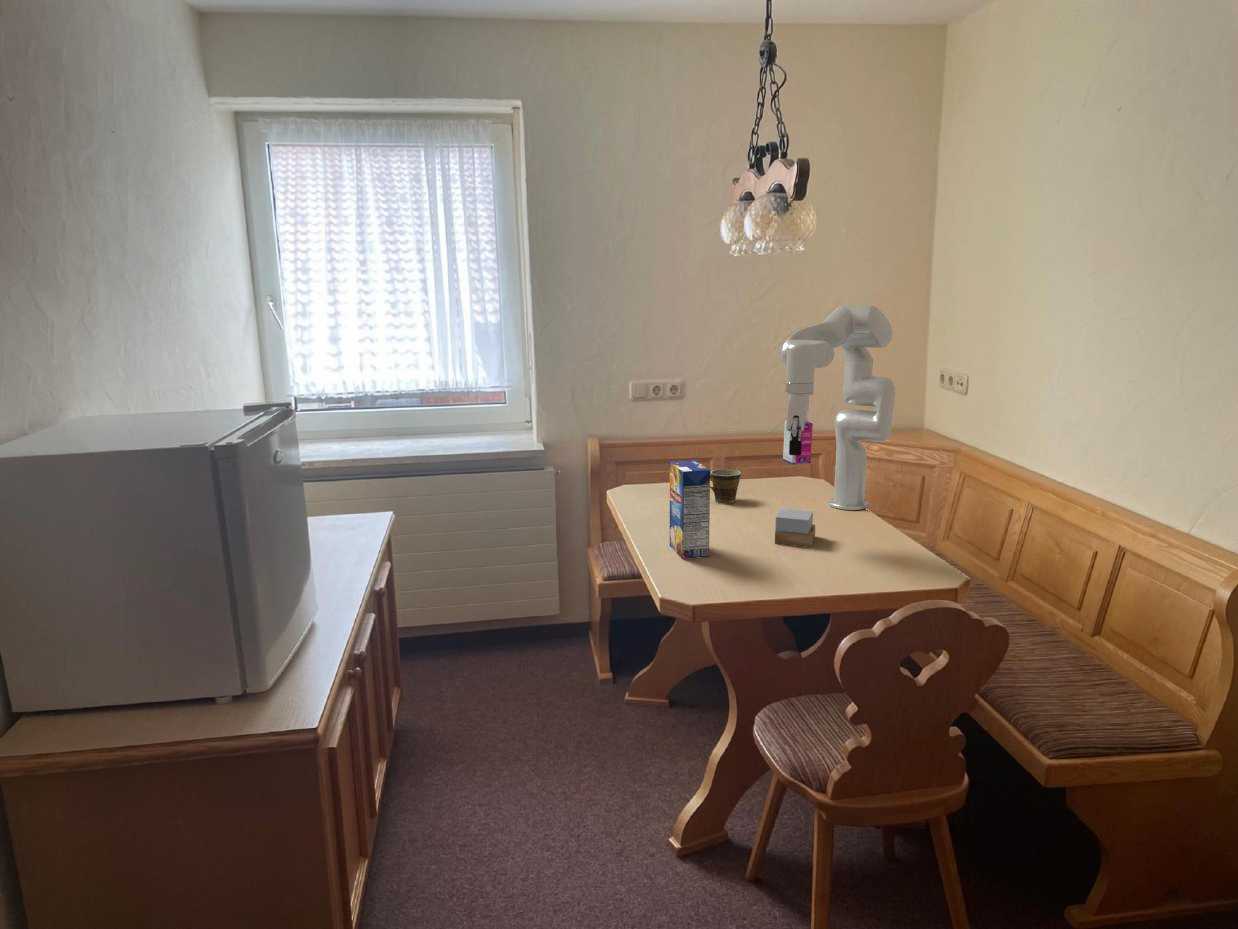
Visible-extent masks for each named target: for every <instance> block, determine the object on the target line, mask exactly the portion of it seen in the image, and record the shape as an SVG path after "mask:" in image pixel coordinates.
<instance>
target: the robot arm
mask: <svg viewBox="0 0 1238 929" xmlns="http://www.w3.org/2000/svg"><path fill="white" fill-rule="evenodd" d="M892 338H893V328H892V324H891V323H890V321H889V319H888V318H887V316H886V315H885V314H884V313H883V311H882V310H881V309H879V308H878V307H876V306H875V305H871V304H867V305H866V304H844V305H841V306H838V307H837V308H834V310H833V311H832V312H831V313H830V314H828V316H827V317H826V318H825V319H824V320H823V321H822V322H819V323H816V324H815V323H814V324H813V325H810V326H807V327H804V328H802V329H798V330H797V331H795V332H793V333H792V334H791V335H790V336H789V337H788V338H787V339H786V340H785V341H784V343H783V345H782V347H781V350H780V357H781V361H782V362H783V364H784V365H785V369H786V370H785V395H786V396H787V395H788V396H787V397H788V398H787V405H786V406H787V407H786V408H787V409H786V420H785V421H786V430H787V431H789V430H790V429H791V434H790V442H789V454H790V455H799V456H800V455H801V448H802V441H801V432H802V431H804V430H805V425H806V423H807V422H809V413H810V412H809V411H810V410H809V407H810V396H813V395H814V392H815V391H814V388H815V369H822V368H823V369H824V368H827V367H828V366H830V365H831V364H832V362H833V360H834V357H835V349H836V348H838V347H840V348H841V351H842V354H843V357H844V373H843V382H842V383H843V384H842V399H843V400H842V401H843V402H845V403H846V404H847V405H851V406H861V407H871V408H873V407H874V408H875V410H876V411H874V410H866V409H864V410H863V409H854V408H853V409H852V408H851V409H849V408H848V409H843V410H840V411H839V412H838V413H837V414H836V415H835V417H834V421H833V422H834V423H833V424H834V433H835V444H836V445H835V446H836V447H835V466H834V467H835V468H834V469H835V470H834V486H833V487H834V488H833V490H834V491H833V498H831V499H829V500H828V505H829V506H830V507H831V508H835V509H839V510H845V511H861V510H865V509H867V508H869V506H870V503H869V502H868V500H865V486H866V472H867V457H868V456H867V450H866V448H865V446H864V445H863V443H862V441H866V442H877V443H883V442H886V441H887V440H888V439H889V438H890V436H891V432H892V426H893V418H894V417H893V416H894V407H895V399H896V398H895V397H896V396H895V395H896V389H895V388H896V387H895V384H894V381H892V379H891V378H889V377H888V376H887V377H886V376H876V375H875V376H874V375H873V366H874V359H873V357H872V355H871V352H870V350H868V348H876V349H877V348H879V349H882V348H885V347H888V346H889V345H890V343H891V341H892ZM798 421H799V422H798ZM797 427H799V428H800V429H797ZM788 429H789V430H788ZM798 434H799V435H798Z"/></svg>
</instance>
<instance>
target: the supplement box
mask: <svg viewBox="0 0 1238 929" xmlns="http://www.w3.org/2000/svg"><path fill="white" fill-rule="evenodd" d="M798 422H799V421H798ZM813 426H814V423H812V422H810V421H808V422H807V423H806V425H805V430H804V431H802V432H801V441H802V448H801V455H800V456H799V455H790V454H789V442H790V434H791V429H790V430H789V429H788V430H789V431H787V430H786V420H784V432H783V435H784V436H783V452H782V453H783V454H782V461H783V462H785V463H787V464H789V465H792V466H793V465H804V464H805V465H806V464H811V458H812V443H813V442H812V441H813ZM797 429H800V428H799V427H797ZM798 435H799V434H798Z"/></svg>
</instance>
